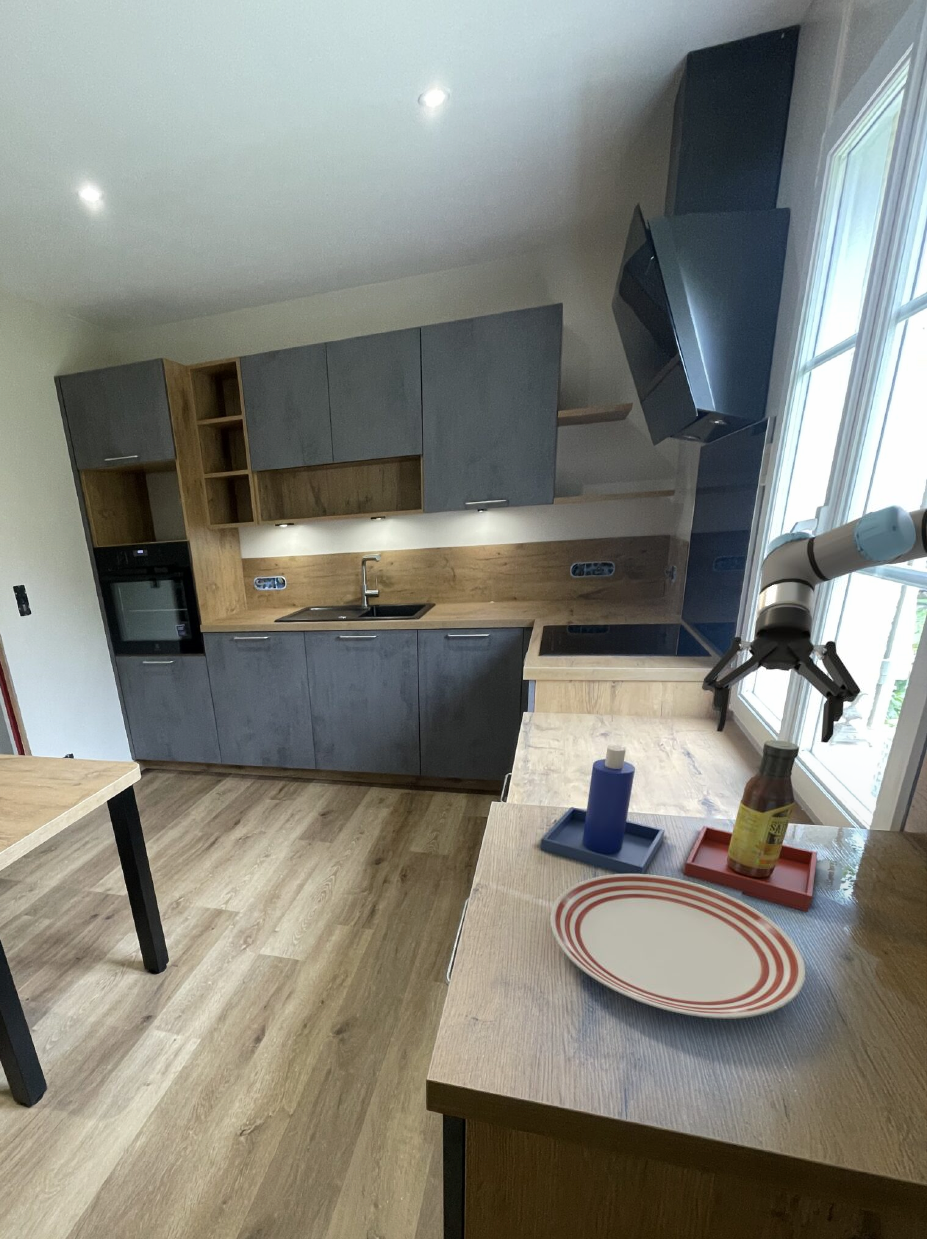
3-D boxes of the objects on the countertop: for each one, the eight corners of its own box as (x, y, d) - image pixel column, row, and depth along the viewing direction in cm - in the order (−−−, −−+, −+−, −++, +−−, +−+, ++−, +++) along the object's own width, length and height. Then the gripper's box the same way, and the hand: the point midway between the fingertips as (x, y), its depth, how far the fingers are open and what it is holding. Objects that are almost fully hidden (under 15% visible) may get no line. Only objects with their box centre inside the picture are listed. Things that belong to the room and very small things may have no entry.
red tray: (812, 866, 93) (817, 852, 92) (807, 912, 83) (812, 896, 82) (700, 838, 102) (703, 825, 101) (682, 877, 91) (685, 862, 90)
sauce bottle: (764, 885, 88) (800, 756, 80) (717, 868, 92) (747, 745, 85) (780, 868, 92) (816, 744, 84) (735, 853, 96) (764, 734, 89)
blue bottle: (626, 842, 100) (642, 745, 94) (615, 858, 96) (632, 757, 89) (589, 832, 104) (602, 738, 97) (577, 847, 99) (590, 749, 93)
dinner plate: (557, 1016, 67) (560, 992, 66) (542, 881, 92) (544, 862, 90) (847, 1059, 61) (857, 1034, 59) (748, 901, 85) (753, 881, 84)
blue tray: (662, 843, 101) (664, 829, 100) (639, 882, 91) (642, 867, 90) (569, 819, 110) (571, 806, 109) (539, 852, 99) (541, 838, 98)
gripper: (871, 635, 98) (866, 754, 91) (693, 629, 109) (677, 734, 102) (890, 606, 91) (886, 731, 85) (699, 602, 102) (683, 712, 96)
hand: (772, 733), depth 94 cm, fingers open, 13 cm apart
